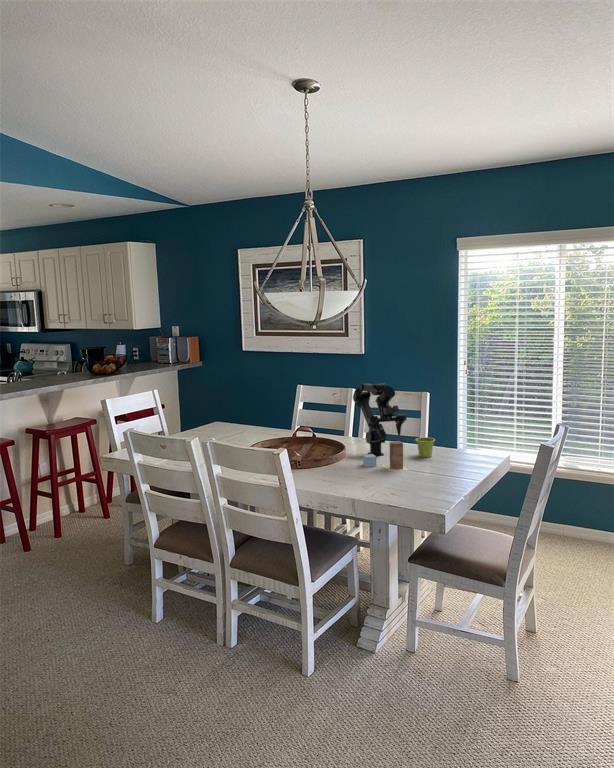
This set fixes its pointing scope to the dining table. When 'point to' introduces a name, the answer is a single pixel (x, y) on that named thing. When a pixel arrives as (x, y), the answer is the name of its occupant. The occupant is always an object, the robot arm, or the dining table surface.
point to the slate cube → (369, 460)
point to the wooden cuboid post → (396, 455)
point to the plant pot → (425, 446)
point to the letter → (393, 469)
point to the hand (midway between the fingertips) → (390, 436)
